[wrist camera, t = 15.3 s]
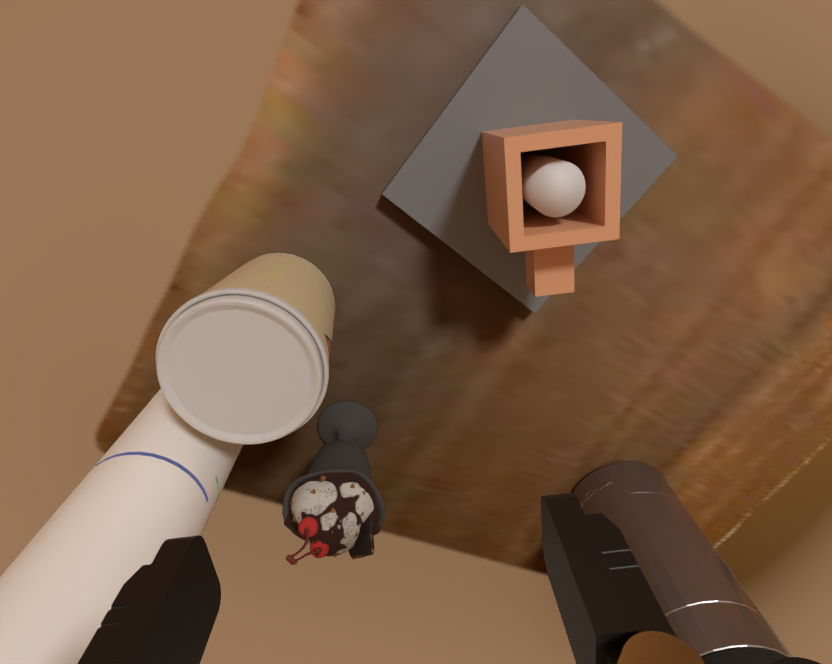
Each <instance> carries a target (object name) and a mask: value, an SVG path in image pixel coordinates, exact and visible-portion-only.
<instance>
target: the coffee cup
mask: <svg viewBox="0 0 832 664" xmlns="http://www.w3.org/2000/svg"><path fill="white" fill-rule="evenodd" d="M334 317H335V300H334V295H333V291H332V288H331V286H330V284H329V282H328V280H327V279H326V277H325V276H324V275H323V273H322V272H321V271H320V270H319V269H318V268H317V267H315V266H314V265H313V264H312V263H310V262H309V261H307V260H305V259H303V258H301V257H298V256H295V255H292V254H286V253H271V254H265V255H262V256H259V257H257V258H255V259H253V260H251V261H249V262H248V263H246V264H244V265H243V266H242V267H240V268H239V269H237V270H236V271H234V272H233V273H231V274H230V275H228V276H227V277H225V278H224V279H223V280H221V281H220V282H218V283H217V284H215V285H214V286H213V287H211V288H210V289H208V290H207V291H206V292H204V293H203V294H201V295H199V296H197V297H195V298H193V299H191V300H190V301H188V302H186V303H185V304H184V305H182V306H181V307H180V308H179V309H178V310H177V311H176V312H175V313H174V314H173V315H172V316H171V317H170V319H169V320H168V321H167V323H166V325H165V326H164V328H163V330H162V332H161V334H160V337H159V340H158V344H157V349H156V368H157V375H158V381H159V384H160V387H161V390H162V392H163V394H164V396H165V398H166V400H167V401H168V403H169V404H170V406H171V407H172V408H173V410H174V411H175V412H176V413H177V414H178V415H179V416H180V417H181V418H182V419H183V420H184V421H185V422H186V423H188V424H189V425H190V426H192V427H193V428H194V429H196V430H198V431H200V432H201V433H203V434H205V435H207V436H209V437H212V438H215V439H217V440H221V441H224V442H229V443H235V444H261V443H267V442H270V441H274V440H277V439H280V438H282V437H284V436H286V435H288V434H290V433H292V432H294V431H295V430H297V429H298V428H300V427H301V426H303V425H304V424H305V423H306V422H307V421H308V420H309V419H310V418H311V417H312V416H313V415H314V414H315V412H316V411H317V410H318V408H319V406H320V405H321V403H322V401H323V398H324V396H325V393H326V390H327V386H328V380H329V359H330V351H331V343H332V334H333V326H334Z"/></svg>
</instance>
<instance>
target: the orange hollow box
mask: <svg viewBox="0 0 832 664" xmlns="http://www.w3.org/2000/svg"><path fill="white" fill-rule="evenodd" d="M482 146H483V160H484V174H485V189H486V203H487V217H488V225H489V226H490V227H491V229H492V230H493V231H494V232H495V234H496V235H497V236H498V238H499V239H500V240H501V241H502V243H503V244H504V245H505V247H506V248H507V249H508V251H509V252H510V253H513V252H521V251H525V256H526V279H527V286H528V287H529V289H530V290H531V291H532V293H533V294H534V296H535V297H537V296H545V295H553V294H561V293H569V292H574V245H576V244H584V243H592V242H600V241H608V240H615V239H619V232H620V193H621V154H622V122H609V121H591V120H567V121H560V122H552V123H544V124H537V125H529V126H521V127H514V128H506V129H499V130H491V131H483V132H482ZM557 147H562V160H564V161H567V162H570V163H572V164H574V165H575V166H577V167H578V168H579V169H580V171H581V172H582V174H583V176H584V179H585V185H586V187H585V194H584V197H583V199H582V201H581V203H580V204H579V206H578V207H577V208H576V209H575V210H574V211H572V212H571V213H569V214H567V215H565V216H562V217H549V216H546V215H544V214H542V213H541V212H539V211H538V210H536V209H535V208H534V207H526V208H523V199H522V177H521V154H520V152H526V151H534V150H541V149H549V148H557Z"/></svg>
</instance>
